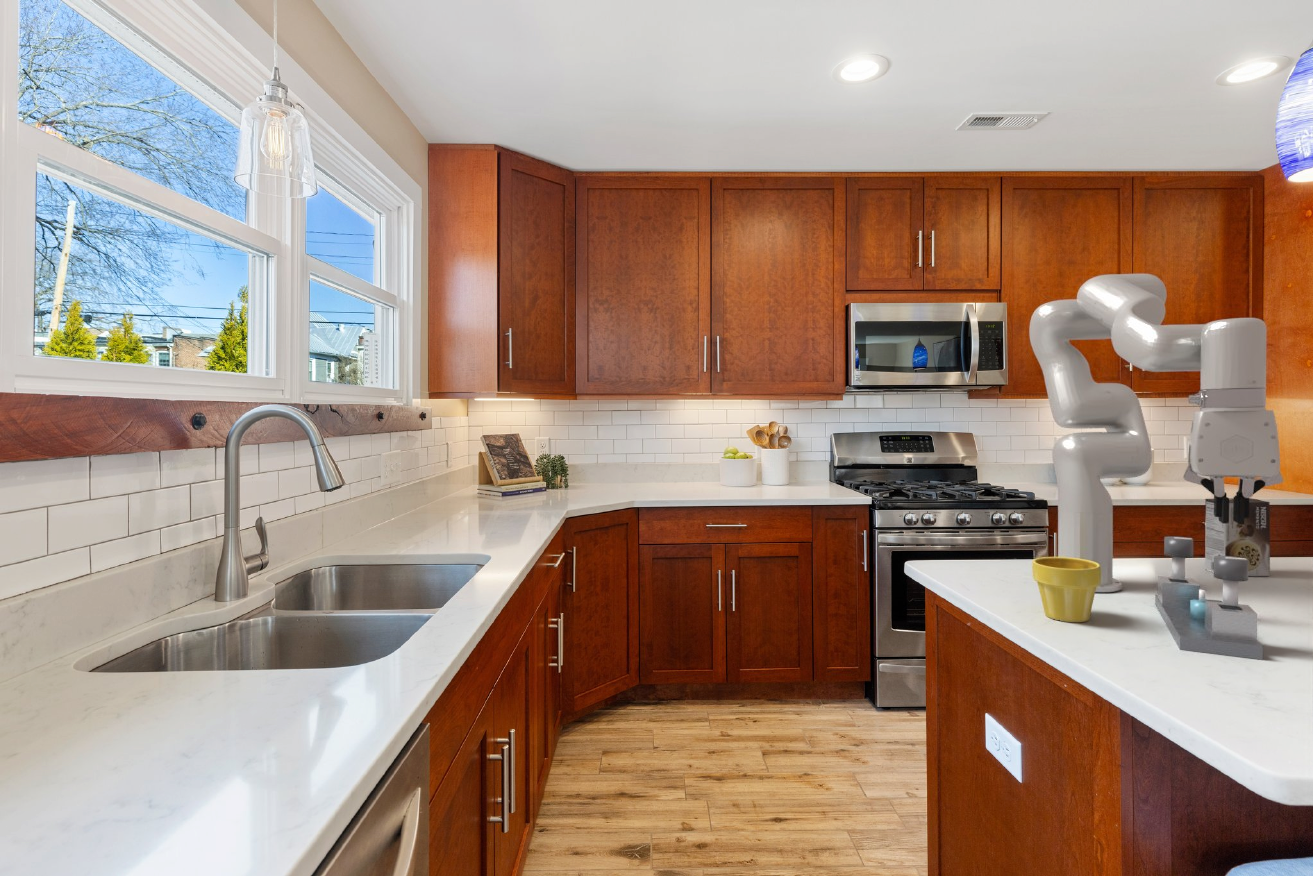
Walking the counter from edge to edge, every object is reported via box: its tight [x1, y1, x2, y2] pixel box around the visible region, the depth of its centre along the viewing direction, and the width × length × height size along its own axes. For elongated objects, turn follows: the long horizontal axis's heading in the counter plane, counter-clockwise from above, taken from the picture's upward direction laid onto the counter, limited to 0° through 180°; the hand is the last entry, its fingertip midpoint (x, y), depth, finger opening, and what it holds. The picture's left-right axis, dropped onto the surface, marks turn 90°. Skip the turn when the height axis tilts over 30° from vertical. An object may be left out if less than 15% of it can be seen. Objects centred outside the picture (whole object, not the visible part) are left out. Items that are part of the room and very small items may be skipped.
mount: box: [1154, 575, 1264, 661], centre depth 111 cm, size 10×26×6 cm, turn 150°
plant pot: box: [1031, 556, 1101, 623], centre depth 118 cm, size 10×10×10 cm
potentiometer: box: [1190, 588, 1206, 620], centre depth 111 cm, size 3×3×4 cm
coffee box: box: [1204, 497, 1271, 577], centre depth 146 cm, size 9×6×16 cm
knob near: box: [1213, 556, 1249, 606], centre depth 102 cm, size 4×4×7 cm
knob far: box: [1163, 535, 1194, 579], centre depth 118 cm, size 4×4×7 cm
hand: (1231, 521), depth 102 cm, fingers closed
